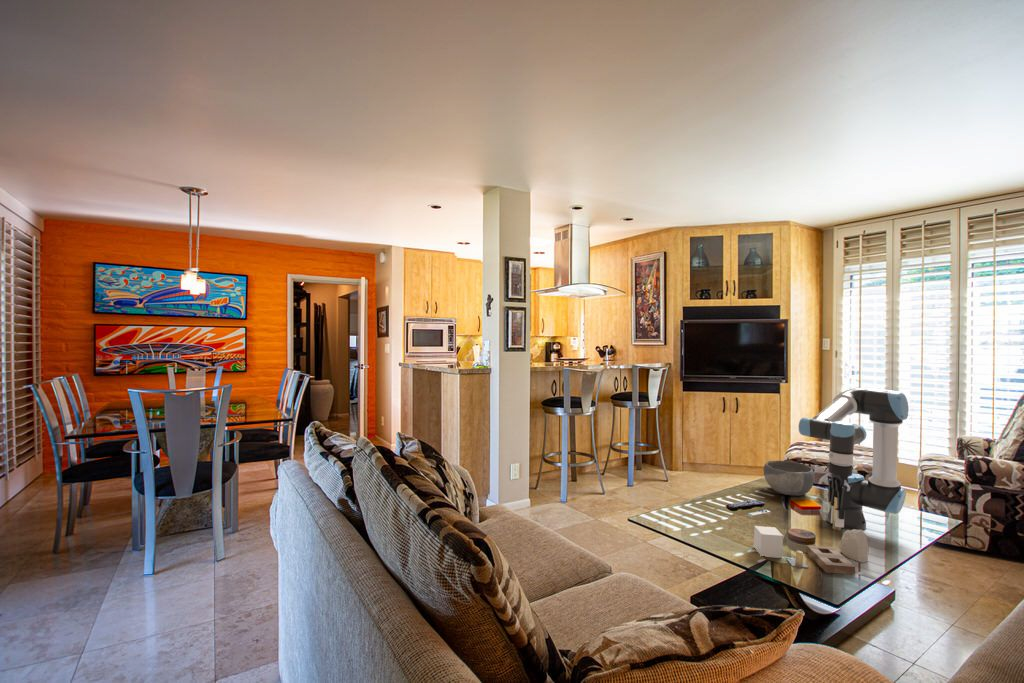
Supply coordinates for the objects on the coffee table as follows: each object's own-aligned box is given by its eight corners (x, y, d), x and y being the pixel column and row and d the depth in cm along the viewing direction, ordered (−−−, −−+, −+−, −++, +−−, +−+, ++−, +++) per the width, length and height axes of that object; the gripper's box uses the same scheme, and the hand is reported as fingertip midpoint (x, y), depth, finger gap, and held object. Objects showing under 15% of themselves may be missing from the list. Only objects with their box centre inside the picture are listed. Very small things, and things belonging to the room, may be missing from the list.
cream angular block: (801, 561, 194) (802, 547, 194) (808, 568, 189) (809, 554, 189) (786, 559, 195) (787, 546, 195) (792, 566, 190) (793, 552, 189)
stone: (837, 552, 202) (838, 524, 202) (846, 551, 204) (848, 523, 204) (862, 564, 193) (863, 535, 192) (871, 562, 194) (873, 533, 194)
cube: (774, 548, 204) (775, 527, 204) (781, 558, 196) (783, 535, 196) (753, 547, 205) (754, 525, 205) (760, 556, 197) (761, 534, 197)
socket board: (806, 552, 202) (806, 545, 202) (833, 554, 200) (833, 547, 200) (825, 572, 186) (826, 564, 186) (854, 574, 185) (855, 566, 184)
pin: (838, 527, 190) (840, 496, 189) (842, 530, 187) (844, 499, 186) (831, 527, 190) (833, 496, 189) (834, 530, 187) (836, 498, 187)
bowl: (771, 498, 263) (772, 470, 262) (756, 483, 287) (757, 458, 286) (821, 502, 259) (823, 474, 258) (802, 487, 283) (804, 461, 282)
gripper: (819, 457, 196) (816, 516, 197) (840, 468, 180) (837, 532, 181) (840, 458, 195) (837, 517, 196) (863, 470, 179) (859, 534, 180)
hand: (837, 524), depth 188 cm, fingers closed on pin, 2 cm apart
